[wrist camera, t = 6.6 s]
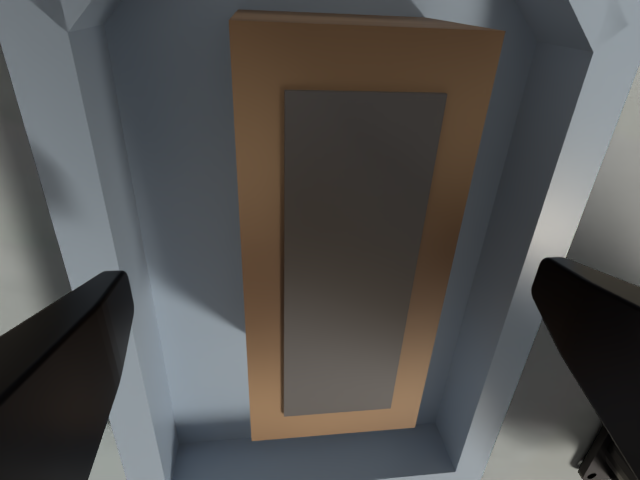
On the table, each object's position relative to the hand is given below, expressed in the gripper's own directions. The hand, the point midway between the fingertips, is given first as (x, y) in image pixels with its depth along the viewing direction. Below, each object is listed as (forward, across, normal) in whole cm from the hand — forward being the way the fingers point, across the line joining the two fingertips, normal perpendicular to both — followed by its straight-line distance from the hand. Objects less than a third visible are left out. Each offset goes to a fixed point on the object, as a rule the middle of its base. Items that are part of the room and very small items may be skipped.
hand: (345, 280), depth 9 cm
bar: (+4, 0, 0) cm, 4 cm away
